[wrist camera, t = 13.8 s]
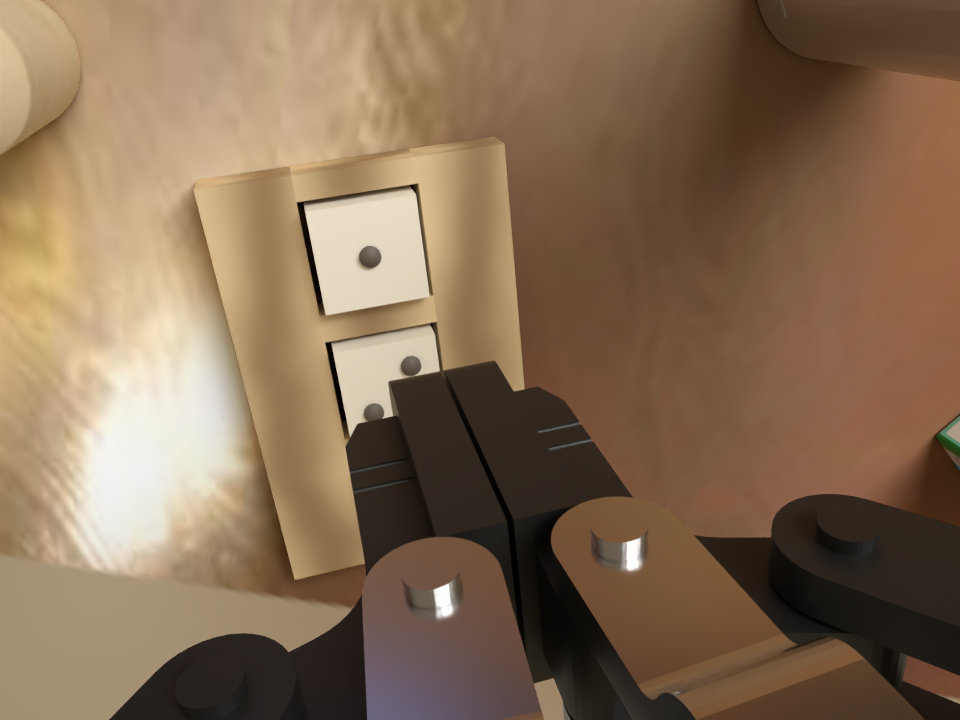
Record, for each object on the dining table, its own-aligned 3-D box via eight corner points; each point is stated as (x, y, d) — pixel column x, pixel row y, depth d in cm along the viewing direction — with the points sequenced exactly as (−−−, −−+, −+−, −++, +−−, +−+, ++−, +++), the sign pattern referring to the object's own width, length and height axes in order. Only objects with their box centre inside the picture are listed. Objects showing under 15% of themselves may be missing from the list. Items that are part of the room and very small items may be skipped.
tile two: (426, 316, 42) (435, 336, 39) (437, 400, 44) (447, 423, 42) (329, 334, 41) (333, 355, 39) (346, 418, 43) (351, 443, 41)
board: (493, 136, 39) (504, 143, 37) (525, 503, 49) (535, 523, 47) (196, 180, 37) (193, 190, 35) (293, 557, 47) (294, 580, 45)
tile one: (407, 182, 39) (416, 195, 36) (421, 280, 41) (430, 298, 39) (303, 199, 38) (305, 213, 36) (322, 297, 40) (326, 317, 38)
